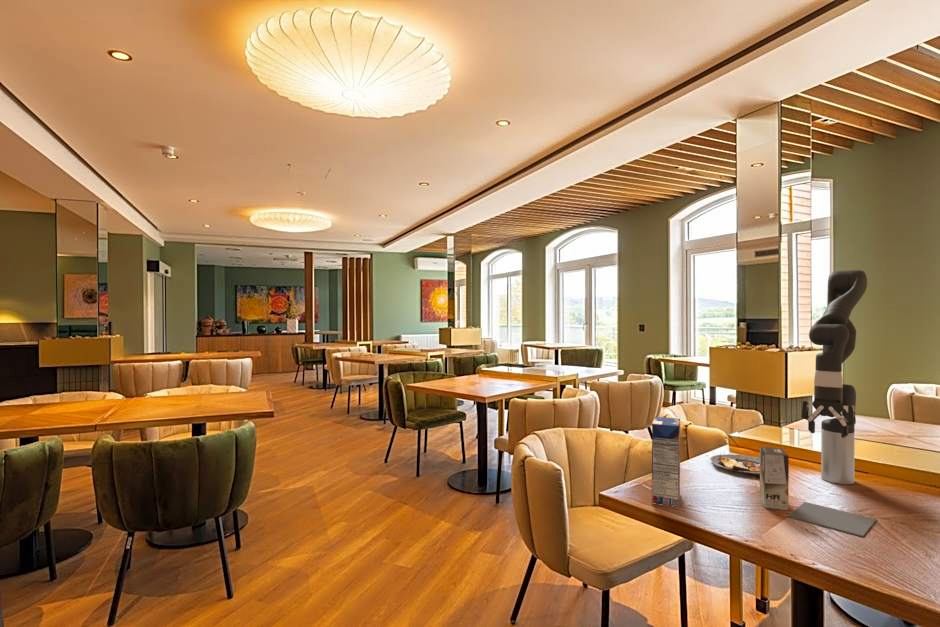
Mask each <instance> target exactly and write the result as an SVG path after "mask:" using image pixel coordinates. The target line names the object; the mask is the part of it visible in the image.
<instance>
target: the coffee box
mask: <svg viewBox="0 0 940 627" xmlns="http://www.w3.org/2000/svg"><path fill="white" fill-rule="evenodd" d="M759 458H760V465H759V467H760V475H759V499H760V502H761V503H762V505H763V507H764V508H765V509H774V510H781V511H789V478H790V477H789V472H790V471H789V469H790V467H789V464H790V462H789V460H790V458H789V455H788V454H787V452H786V451H785V450H784V448H780V447H770V446H760V447H759Z"/></svg>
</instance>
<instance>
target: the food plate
mask: <svg viewBox="0 0 940 627" xmlns="http://www.w3.org/2000/svg"><path fill="white" fill-rule="evenodd" d="M709 458H710V460H711V461H712V464H713V465H715V466H716V467H718V468H722V469H724V470H728V471H733V472H738V473H745V474H751V475H756V474H757V476H760V466H756V465H758V464H760V457H757V456H752V455H745V454H744V455H743V454H731V453H730V454H729V453H728V454H715V455H712V456H711V457H709ZM740 463H742V464H740ZM754 463H755V464H754ZM743 466H744V467H745V466H746V467H748V468H744V467H743Z"/></svg>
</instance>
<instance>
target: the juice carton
mask: <svg viewBox="0 0 940 627" xmlns="http://www.w3.org/2000/svg"><path fill="white" fill-rule="evenodd" d="M651 433H652V434H651V504H652V503H656V504H663V505H669V506H674V507H673V508H675V507H679V508H680V499H679V498H681V497H680V496H681V494H680V493H681V486H680V485H681V418H676V417H675V418H674V417H663V416H655V417H654V419H653V421H652V424H651Z"/></svg>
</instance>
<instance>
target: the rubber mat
mask: <svg viewBox="0 0 940 627" xmlns="http://www.w3.org/2000/svg"><path fill="white" fill-rule="evenodd" d="M786 517H787V518H790V519H793V520H797V521H800V522H805V523H809V524H812V525H816V526H819V527H823V528H827V529H831V530H835V531H838V532H841V531H842V533H846V534H849V533H850V535H852V534H853V536H856V535H857V537H859V538H860V537H861V538H864V537H865V536H866V534H867V533H868V532H869V531H870V529H871V528H872V527H873V525H874V524H875V523H876V522H875V521H877V518H873V517H868V516H864V515H861V514H856V513H854V512H853V513H852V512H848V511H844V510H840V509H836V508H832V507H828V506H824V505H819V504H816V503H813V502H812V503H810V502H806V501H803V502H802V504H800V505H799V506H798V507H796V508H795V509H794V510H792V511H791V512H790V513H789V514H788V515H787V516H786ZM874 522H875V523H874ZM871 526H872V527H871ZM867 531H868V532H867Z"/></svg>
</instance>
